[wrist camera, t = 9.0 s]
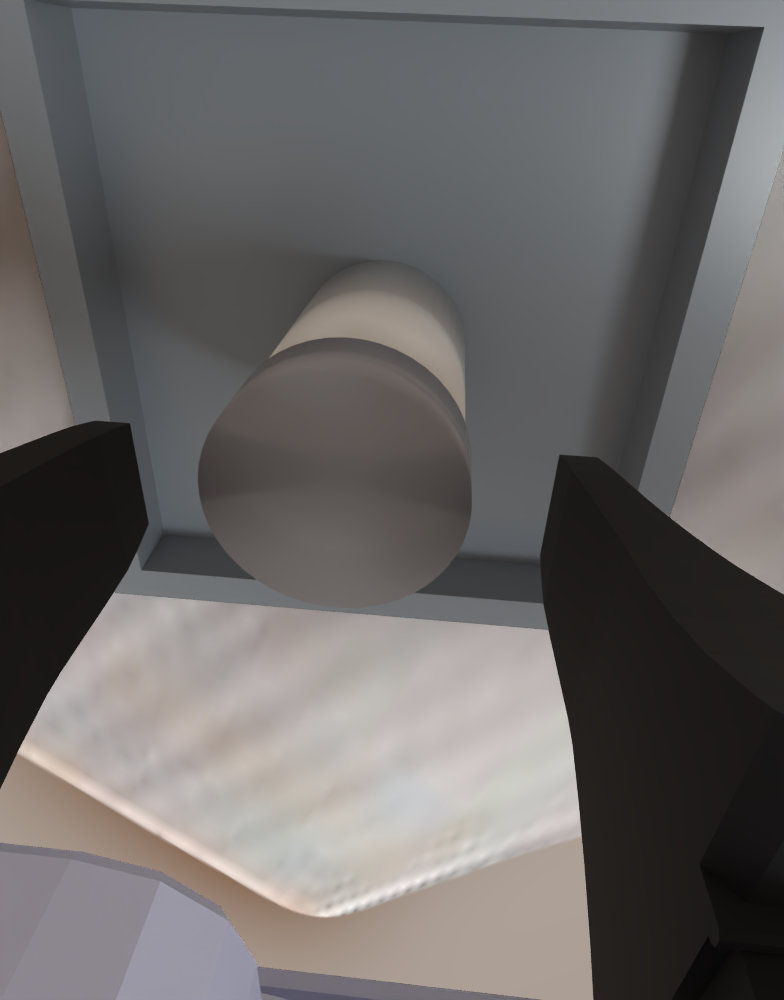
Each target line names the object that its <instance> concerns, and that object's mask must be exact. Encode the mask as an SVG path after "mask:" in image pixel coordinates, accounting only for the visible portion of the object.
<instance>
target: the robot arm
mask: <svg viewBox="0 0 784 1000" xmlns="http://www.w3.org/2000/svg"><path fill="white" fill-rule="evenodd" d="M148 525H149V521H148V516H147V511H146V505H145V500H144V495H143V489H142V484H141V479H140V474H139V468H138V463H137V458H136V452H135V447H134V442H133V436H132V431H131V426H130V423H122V422H108V421H91V422H87V423H82V424H79V425H76V426H72V427H69V428H66V429H63V430H61V431H58V432H55V433H52V434H50V435H47V436H44V437H42V438H39V439H36V440H34V441H31V442H28V443H26V444H23V445H21V446H18V447H16V448H13V449H10V450H8V451H5V452H3V453H0V788H1V786H2V784H3V782H4V780H5V778H6V776H7V773H8V771H9V769H10V767H11V765H12V763H13V761H14V758H15V757H16V754H17V752H18V750H19V748H20V746H21V744H22V742H23V740H24V738H25V736H26V734H27V733H28V731H29V729H30V727H31V725H32V723H33V721H34V719H35V717H36V715H37V713H38V711H39V709H40V707H41V705H42V703H43V702H44V700H45V698H46V696H47V694H48V692H49V691H50V689H51V687H52V686H53V684H54V682H55V681H56V679H57V677H58V676H59V674H60V672H61V671H62V669H63V668H64V666H65V665H66V663H67V662H68V660H69V659H70V657H71V656H72V654H73V653H74V651H75V650H76V648H77V647H78V645H79V644H80V642H81V641H82V639H83V638H84V636H85V635H86V633H87V632H88V630H89V629H90V627H91V626H92V624H93V623H94V621H95V620H96V618H97V617H98V615H99V614H100V613H101V611H102V610H103V608H104V607H105V605H106V603H107V602H108V600H109V599H110V597H111V596H112V594H113V593H114V591H115V590H116V588H117V587H118V585H119V584H120V582H121V580H122V579H123V577H124V576H125V574H126V572H127V571H128V569H129V567H130V565H131V563H132V561H133V559H134V557H135V555H136V553H137V550H138V548H139V546H140V544H141V541H142V539H143V537H144V534H145V532H146V530H147V527H148ZM540 565H541V581H542V594H543V605H544V610H545V615H546V620H547V625H548V629H549V634H550V639H551V643H552V648H553V652H554V657H555V661H556V666H557V670H558V675H559V679H560V684H561V689H562V693H563V698H564V702H565V707H566V711H567V716H568V721H569V726H570V732H571V738H572V744H573V752H574V762H575V771H576V781H577V790H578V799H579V810H580V821H581V832H582V843H583V854H584V864H585V876H586V890H587V905H588V917H589V931H590V946H591V963H592V981H593V998H594V1000H784V594H782V593H780V592H778V591H776V590H775V589H773V588H771V587H770V586H768V585H766V584H765V583H763V582H762V581H760V580H758V579H757V578H755V577H753V576H752V575H750V574H748V573H747V572H745V571H744V570H742V569H740V568H739V567H737V566H735V565H734V564H732V563H731V562H729V561H728V560H726V559H725V558H723V557H722V556H720V555H719V554H718V553H716V552H715V551H713V550H712V549H711V548H709V547H708V546H707V545H705V544H704V543H702V542H701V541H700V540H698V539H697V538H696V537H694V536H693V535H692V534H690V533H689V532H687V531H686V530H685V529H684V528H682V527H681V526H680V525H678V524H677V523H676V522H675V521H673V520H672V519H671V518H670V517H668V516H667V515H666V514H665V513H663V512H662V511H661V510H660V509H659V508H657V507H656V506H655V505H654V504H653V503H652V502H650V501H649V500H648V499H647V498H646V497H644V496H643V495H642V494H641V493H640V492H639V491H638V490H636V489H635V488H634V487H633V486H632V485H631V484H629V483H628V482H627V481H626V480H625V479H624V478H623V477H621V476H620V475H619V474H618V473H617V472H616V471H614V470H613V469H612V468H611V467H610V466H608V465H607V464H606V463H605V462H603V461H602V460H601V459H599V458H598V457H587V456H573V455H559V459H558V464H557V469H556V475H555V480H554V485H553V490H552V495H551V500H550V506H549V511H548V516H547V521H546V526H545V532H544V537H543V542H542V547H541V552H540ZM0 1000H538V999H529V998H521V997H513V996H504V995H495V994H487V993H478V992H470V991H461V990H453V989H444V988H435V987H426V986H418V985H410V984H401V983H392V982H384V981H376V980H367V979H358V978H350V977H341V976H333V975H324V974H316V973H307V972H298V971H290V970H282V969H273V968H264V967H257V963H256V962H255V960H254V958H253V956H252V955H251V953H250V951H249V950H248V948H247V946H246V945H245V943H244V942H243V940H242V939H241V937H240V935H239V934H238V932H237V931H236V929H235V928H234V927H233V925H232V923H231V922H230V920H229V919H228V917H227V916H226V914H225V913H224V911H223V910H222V908H221V907H220V906H219V905H217V904H216V903H214V902H212V901H210V900H209V899H207V898H205V897H204V896H202V895H200V894H198V893H197V892H195V891H193V890H192V889H190V888H188V887H186V886H185V885H183V884H181V883H180V882H178V881H176V880H175V879H173V878H171V877H169V876H168V875H166V874H164V873H163V872H161V871H157V870H153V869H149V868H145V867H141V866H137V865H133V864H129V863H125V862H121V861H117V860H113V859H109V858H105V857H101V856H97V855H93V854H89V853H85V852H79V851H70V850H69V851H68V850H60V849H51V848H42V847H33V846H23V845H14V844H5V843H0Z"/></svg>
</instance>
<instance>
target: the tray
mask: <svg viewBox="0 0 784 1000" xmlns="http://www.w3.org/2000/svg"><path fill="white" fill-rule="evenodd" d="M0 111H1V115H2V119H3V123H4V128H5V132H6V136H7V140H8V144H9V149H10V153H11V157H12V161H13V165H14V170H15V174H16V178H17V182H18V186H19V191H20V195H21V199H22V203H23V207H24V212H25V216H26V220H27V224H28V229H29V233H30V237H31V241H32V245H33V250H34V254H35V258H36V262H37V266H38V271H39V275H40V279H41V283H42V287H43V292H44V296H45V300H46V304H47V308H48V313H49V317H50V321H51V325H52V329H53V334H54V338H55V342H56V346H57V351H58V355H59V359H60V363H61V367H62V372H63V376H64V380H65V384H66V388H67V393H68V397H69V401H70V405H71V409H72V414H73V418H74V422H75V426H76V425H79V424H82V423H87V422H91V421H108V422H122V423H130V426H131V431H132V436H133V442H134V447H135V452H136V458H137V463H138V468H139V474H140V479H141V484H142V489H143V495H144V500H145V505H146V511H147V516H148V521H149V525H148V527H147V530H146V532H145V534H144V537H143V539H142V541H141V544H140V546H139V548H138V550H137V553H136V555H135V557H134V559H133V561H132V563H131V565H130V567H129V569H128V571H127V572H126V574H125V576H124V577H123V579H122V580H121V582H120V584H119V585H118V587H117V588H116V590H115V593H121V594H133V595H145V596H156V597H168V598H180V599H192V600H204V601H215V602H227V603H239V604H251V605H263V606H274V607H286V608H298V609H310V610H322V611H333V612H345V613H357V614H369V615H380V616H392V617H404V618H416V619H428V620H439V621H451V622H463V623H475V624H487V625H498V626H510V627H522V628H534V629H546V630H549V629H548V625H547V620H546V615H545V610H544V605H543V594H542V581H541V565H540V552H541V547H542V542H543V537H544V532H545V526H546V521H547V516H548V511H549V506H550V500H551V495H552V490H553V485H554V480H555V475H556V469H557V464H558V459H559V455H573V456H587V457H598V458H599V459H601V460H602V461H603V462H605V463H606V464H607V465H608V466H610V467H611V468H612V469H613V470H614V471H616V472H617V473H618V474H619V475H620V476H621V477H623V478H624V479H625V480H626V481H627V482H628V483H629V484H631V485H632V486H633V487H634V488H635V489H636V490H638V491H639V492H640V493H641V494H642V495H643V496H644V497H646V498H647V499H648V500H649V501H650V502H652V503H653V504H654V505H655V506H656V507H657V508H659V509H660V510H661V511H662V512H663V513H665V514H666V515H667V516H668V517H670V514H671V511H672V508H673V504H674V501H675V498H676V495H677V491H678V488H679V485H680V482H681V478H682V475H683V472H684V469H685V466H686V462H687V459H688V456H689V453H690V449H691V446H692V443H693V440H694V437H695V433H696V430H697V427H698V424H699V420H700V417H701V414H702V411H703V408H704V404H705V401H706V398H707V395H708V391H709V388H710V385H711V382H712V379H713V375H714V372H715V369H716V366H717V362H718V359H719V356H720V353H721V349H722V346H723V343H724V340H725V337H726V333H727V330H728V327H729V324H730V320H731V317H732V314H733V311H734V308H735V304H736V301H737V298H738V295H739V291H740V288H741V285H742V282H743V279H744V275H745V272H746V269H747V266H748V262H749V259H750V256H751V253H752V250H753V246H754V243H755V240H756V237H757V233H758V230H759V227H760V224H761V220H762V217H763V214H764V211H765V208H766V204H767V201H768V198H769V195H770V191H771V188H772V185H773V182H774V179H775V175H776V172H777V169H778V166H779V162H780V159H781V156H782V153H783V150H784V0H0ZM369 261H392V262H398V263H402V264H406V265H408V266H411V267H414V268H416V269H418V270H420V271H422V272H423V273H425V274H427V275H428V276H430V277H431V278H432V279H434V280H435V281H436V282H437V283H438V284H439V285H440V286H441V287H442V288H443V289H444V290H445V291H446V292H447V294H448V295H449V296H450V298H451V299H452V301H453V303H454V304H455V306H456V308H457V310H458V312H459V315H460V317H461V321H462V324H463V328H464V336H465V423H466V427H467V430H468V434H469V439H470V447H471V476H472V512H471V518H470V524H469V528H468V531H467V534H466V537H465V540H464V542H463V544H462V546H461V548H460V549H459V551H458V553H457V555H456V556H455V558H454V559H453V560H452V562H451V563H450V564H449V566H448V567H447V568H446V569H445V570H444V571H443V572H442V573H441V574H440V575H439V576H438V577H437V578H435V579H434V580H433V581H432V582H430V583H429V584H428V585H426V586H425V587H423V588H421V589H420V590H418V591H416V592H415V593H413V594H411V595H408V596H406V597H404V598H401V599H399V600H396V601H393V602H389V603H386V604H382V605H376V606H371V607H362V608H335V607H327V606H320V605H315V604H311V603H306V602H303V601H300V600H297V599H294V598H291V597H288V596H286V595H284V594H282V593H279V592H277V591H275V590H273V589H271V588H270V587H268V586H266V585H264V584H263V583H261V582H259V581H258V580H257V579H255V578H254V577H252V576H251V575H250V574H248V573H247V572H246V571H245V570H244V569H242V568H241V567H240V566H239V565H238V564H237V563H236V562H235V561H234V560H233V559H232V558H231V557H230V556H229V555H228V553H227V552H226V551H225V550H224V549H223V547H222V546H221V544H220V543H219V542H218V540H217V539H216V537H215V536H214V534H213V532H212V530H211V528H210V526H209V525H208V522H207V520H206V517H205V514H204V512H203V509H202V505H201V501H200V496H199V489H198V466H199V460H200V455H201V451H202V447H203V445H204V442H205V440H206V437H207V435H208V433H209V431H210V430H211V428H212V426H213V425H214V423H215V421H216V420H217V418H218V417H219V416H220V414H221V413H222V412H223V410H224V409H225V408H226V406H227V405H228V404H229V402H230V401H231V400H232V398H233V397H234V396H235V394H236V393H237V392H238V390H239V389H240V387H241V386H242V385H243V383H244V382H245V381H246V380H247V379H248V377H249V376H250V375H251V374H252V373H253V371H254V370H256V369H257V368H258V367H259V366H260V365H261V364H262V363H264V362H265V361H266V360H267V359H269V357H270V356H271V355H272V353H273V352H274V350H275V349H276V348H277V346H278V345H279V344H280V342H281V341H282V339H283V338H284V337H285V335H286V334H287V332H288V331H289V330H290V328H291V327H292V325H293V324H294V323H295V321H296V320H297V319H298V317H299V316H300V314H301V313H302V312H303V310H304V309H305V307H306V306H307V305H308V303H309V302H310V300H311V299H312V298H313V296H314V295H315V294H316V292H317V291H318V290H319V289H320V287H321V286H322V285H323V284H324V283H325V282H326V281H327V280H328V279H330V278H331V277H332V276H334V275H335V274H337V273H338V272H340V271H341V270H343V269H345V268H348V267H350V266H352V265H356V264H359V263H363V262H369Z"/></svg>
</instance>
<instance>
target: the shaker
mask: <svg viewBox="0 0 784 1000" xmlns="http://www.w3.org/2000/svg"><path fill="white" fill-rule="evenodd" d="M198 489H199V496H200V501H201V505H202V509H203V512H204V514H205V517H206V520H207V522H208V525H209V526H210V528H211V530H212V532H213V534H214V536H215V537H216V539H217V540H218V542H219V543H220V544H221V546H222V547H223V549H224V550H225V551H226V552H227V553H228V555H229V556H230V557H231V558H232V559H233V560H234V561H235V562H236V563H237V564H238V565H239V566H240V567H241V568H242V569H244V570H245V571H246V572H247V573H248V574H250V575H251V576H252V577H254V578H255V579H257V580H258V581H259V582H261V583H263V584H264V585H266V586H268V587H270V588H271V589H273V590H275V591H277V592H279V593H282V594H284V595H286V596H288V597H291V598H294V599H297V600H300V601H303V602H306V603H311V604H315V605H320V606H327V607H335V608H362V607H371V606H376V605H382V604H386V603H389V602H393V601H396V600H399V599H401V598H404V597H406V596H408V595H411V594H413V593H415V592H416V591H418V590H420V589H421V588H423V587H425V586H426V585H428V584H429V583H430V582H432V581H433V580H434V579H435V578H437V577H438V576H439V575H440V574H441V573H442V572H443V571H444V570H445V569H446V568H447V567H448V566H449V564H450V563H451V562H452V560H453V559H454V558H455V556H456V555H457V553H458V551H459V549H460V548H461V546H462V544H463V542H464V540H465V537H466V534H467V531H468V528H469V524H470V518H471V512H472V476H471V447H470V439H469V434H468V430H467V427H466V423H465V336H464V328H463V324H462V321H461V317H460V315H459V312H458V310H457V308H456V306H455V304H454V303H453V301H452V299H451V298H450V296H449V295H448V294H447V292H446V291H445V290H444V289H443V288H442V287H441V286H440V285H439V284H438V283H437V282H436V281H435V280H434V279H432V278H431V277H430V276H428V275H427V274H425V273H423V272H422V271H420V270H418V269H416V268H414V267H411V266H408V265H406V264H402V263H398V262H392V261H369V262H363V263H359V264H356V265H352V266H350V267H348V268H345V269H343V270H341V271H340V272H338V273H337V274H335V275H334V276H332V277H331V278H330V279H328V280H327V281H326V282H325V283H324V284H323V285H322V286H321V287H320V289H319V290H318V291H317V292H316V294H315V295H314V296H313V298H312V299H311V300H310V302H309V303H308V305H307V306H306V307H305V309H304V310H303V312H302V313H301V314H300V316H299V317H298V319H297V320H296V321H295V323H294V324H293V325H292V327H291V328H290V330H289V331H288V332H287V334H286V335H285V337H284V338H283V339H282V341H281V342H280V344H279V345H278V346H277V348H276V349H275V350H274V352H273V353H272V355H271V356H270V357H269V359H267V360H266V361H265V362H264V363H262V364H261V365H260V366H259V367H258V368H257V369H256V370H254V371H253V373H252V374H251V375H250V376H249V377H248V379H247V380H246V381H245V382H244V383H243V385H242V386H241V387H240V389H239V390H238V392H237V393H236V394H235V396H234V397H233V398H232V400H231V401H230V402H229V404H228V405H227V406H226V408H225V409H224V410H223V412H222V413H221V414H220V416H219V417H218V418H217V420H216V421H215V423H214V425H213V426H212V428H211V430H210V431H209V433H208V435H207V437H206V440H205V442H204V445H203V447H202V451H201V455H200V460H199V466H198Z"/></svg>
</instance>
